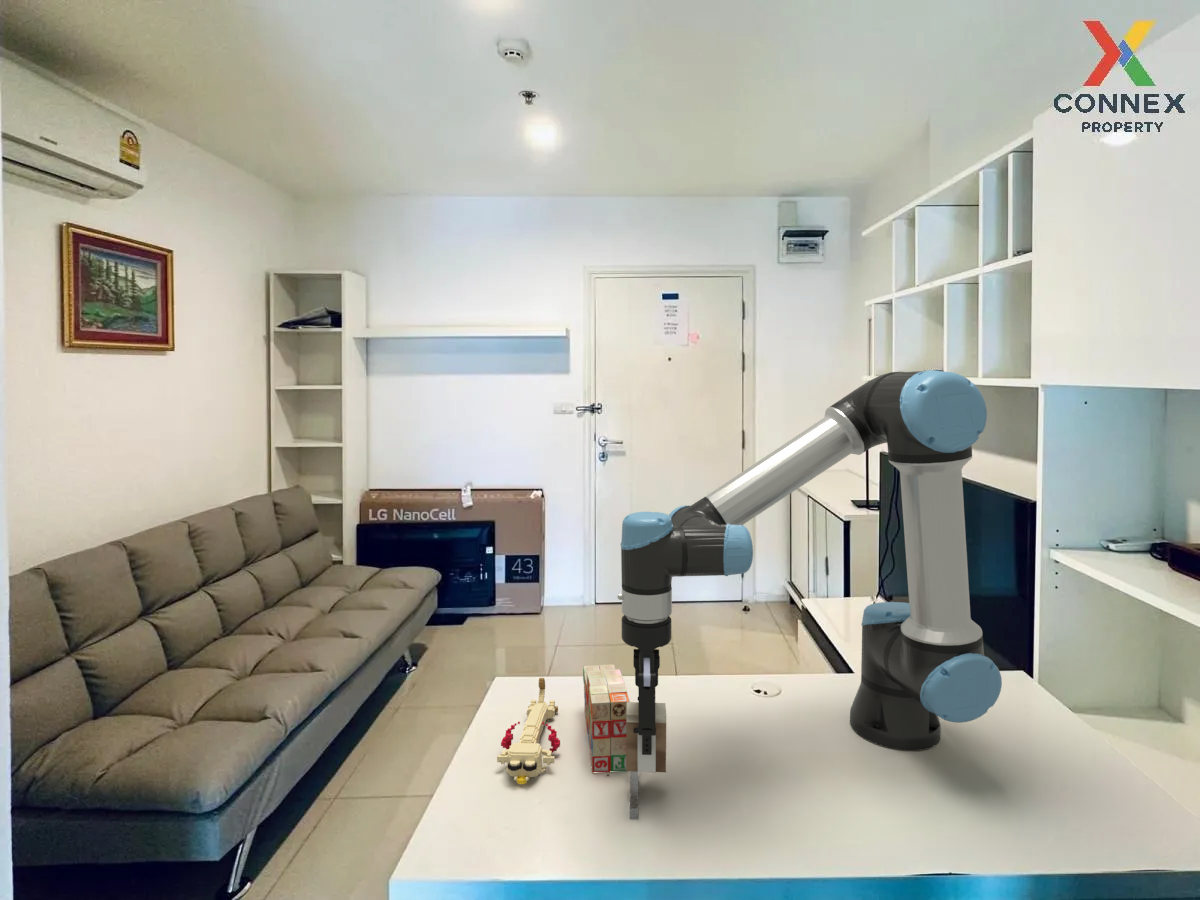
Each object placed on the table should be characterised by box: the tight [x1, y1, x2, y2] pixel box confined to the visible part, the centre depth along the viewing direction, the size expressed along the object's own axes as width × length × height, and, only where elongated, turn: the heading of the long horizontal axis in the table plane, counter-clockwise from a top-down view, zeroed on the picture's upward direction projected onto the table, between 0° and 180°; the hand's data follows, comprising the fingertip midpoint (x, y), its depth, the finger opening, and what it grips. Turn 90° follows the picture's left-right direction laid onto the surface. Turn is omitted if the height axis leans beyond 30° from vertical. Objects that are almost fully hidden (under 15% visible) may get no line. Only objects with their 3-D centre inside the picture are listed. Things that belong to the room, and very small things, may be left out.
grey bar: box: [629, 771, 639, 820], centre depth 104 cm, size 1×11×2 cm, turn 177°
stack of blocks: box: [582, 664, 631, 773], centre depth 121 cm, size 21×6×12 cm, turn 5°
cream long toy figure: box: [496, 677, 561, 785], centre depth 119 cm, size 10×9×25 cm
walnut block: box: [625, 701, 667, 773], centre depth 104 cm, size 6×4×9 cm, turn 87°
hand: (646, 762), depth 105 cm, fingers closed on walnut block, 4 cm apart
